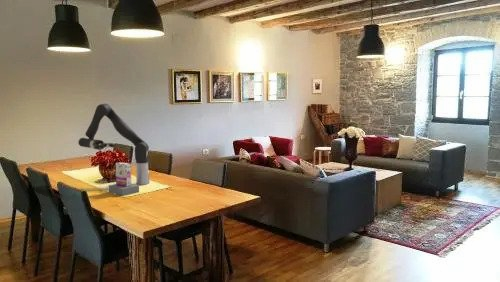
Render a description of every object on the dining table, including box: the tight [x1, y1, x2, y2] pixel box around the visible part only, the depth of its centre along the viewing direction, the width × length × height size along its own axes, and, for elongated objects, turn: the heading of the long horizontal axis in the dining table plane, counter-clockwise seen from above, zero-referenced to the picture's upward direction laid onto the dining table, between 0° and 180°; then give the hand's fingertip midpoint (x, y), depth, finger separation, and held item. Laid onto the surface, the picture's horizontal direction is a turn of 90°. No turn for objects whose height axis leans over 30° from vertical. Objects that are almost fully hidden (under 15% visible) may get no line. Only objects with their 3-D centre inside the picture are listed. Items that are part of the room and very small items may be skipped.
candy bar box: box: [115, 162, 132, 187], centre depth 283 cm, size 11×5×16 cm, turn 60°
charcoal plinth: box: [108, 183, 140, 197], centre depth 284 cm, size 14×17×5 cm
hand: (108, 146), depth 291 cm, fingers open, 8 cm apart
